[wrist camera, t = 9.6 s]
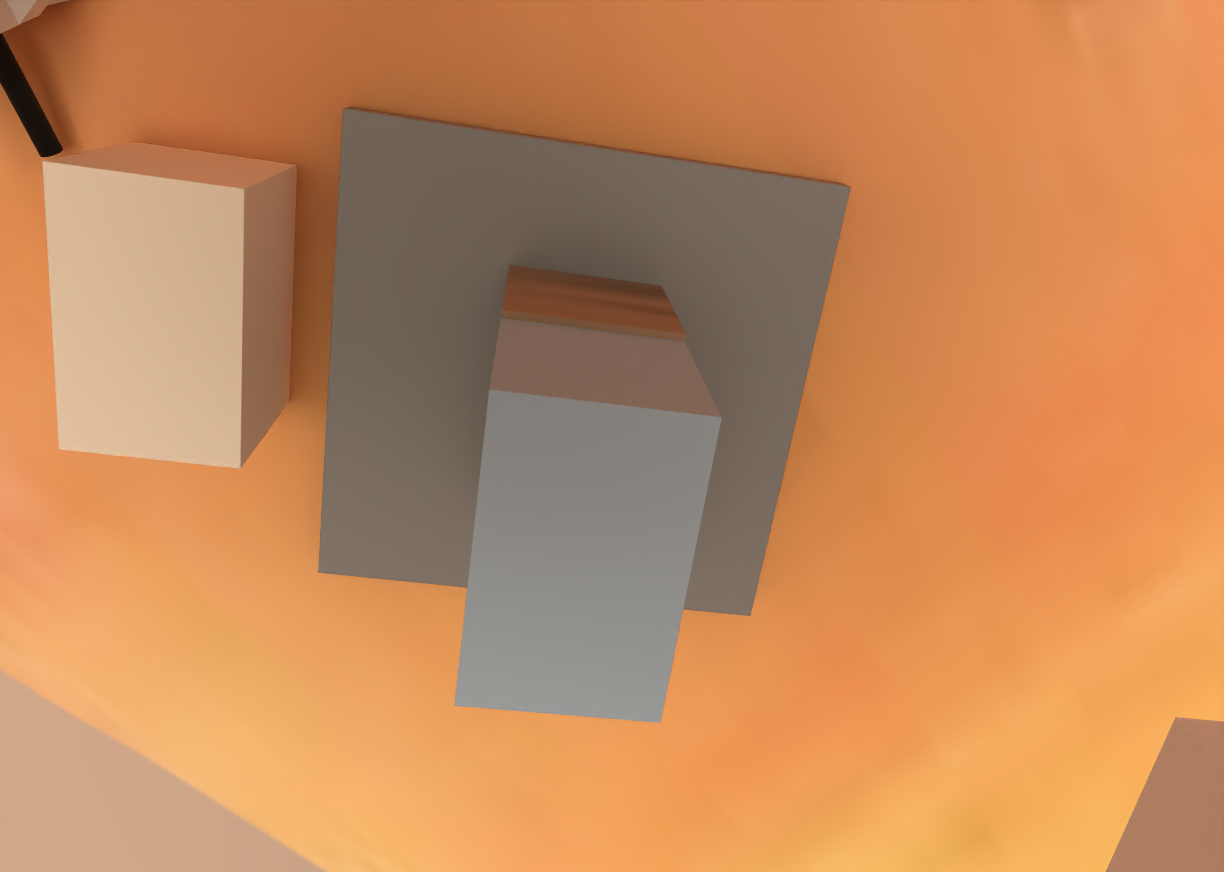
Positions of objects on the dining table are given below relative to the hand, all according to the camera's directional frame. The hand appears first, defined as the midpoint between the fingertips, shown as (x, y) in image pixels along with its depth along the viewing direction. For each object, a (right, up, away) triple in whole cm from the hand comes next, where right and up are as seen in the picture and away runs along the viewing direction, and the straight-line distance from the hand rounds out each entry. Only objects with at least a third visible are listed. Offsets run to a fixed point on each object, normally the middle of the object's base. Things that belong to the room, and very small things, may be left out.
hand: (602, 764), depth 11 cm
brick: (-13, +9, +21) cm, 26 cm away
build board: (-1, +6, +23) cm, 24 cm away
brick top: (-1, +3, +17) cm, 17 cm away
